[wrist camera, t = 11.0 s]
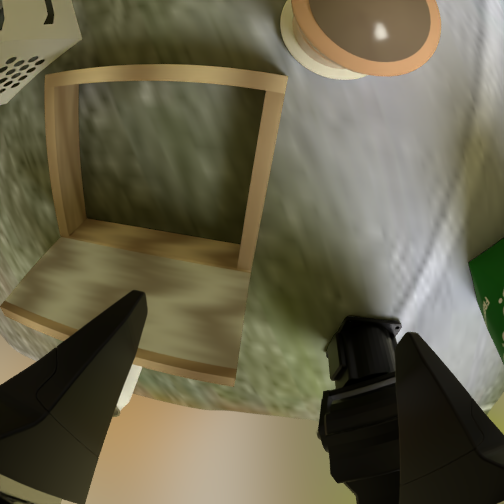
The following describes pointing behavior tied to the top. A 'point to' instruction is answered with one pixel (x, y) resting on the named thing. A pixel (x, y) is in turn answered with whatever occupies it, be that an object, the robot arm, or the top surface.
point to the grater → (34, 38)
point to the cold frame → (146, 243)
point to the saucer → (302, 56)
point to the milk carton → (491, 291)
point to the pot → (368, 33)
